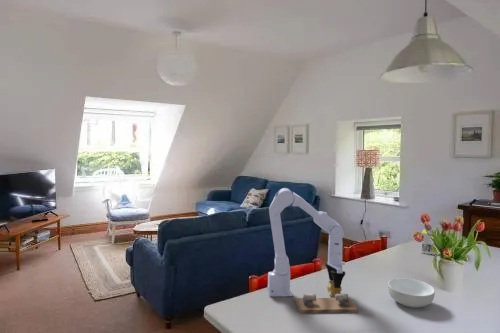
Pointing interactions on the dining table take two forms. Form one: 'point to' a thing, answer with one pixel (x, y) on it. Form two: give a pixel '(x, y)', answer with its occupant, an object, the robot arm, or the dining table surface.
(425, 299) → the cereal bowl
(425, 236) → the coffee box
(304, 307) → the shaft stand
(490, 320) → the dining table surface
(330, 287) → the block
